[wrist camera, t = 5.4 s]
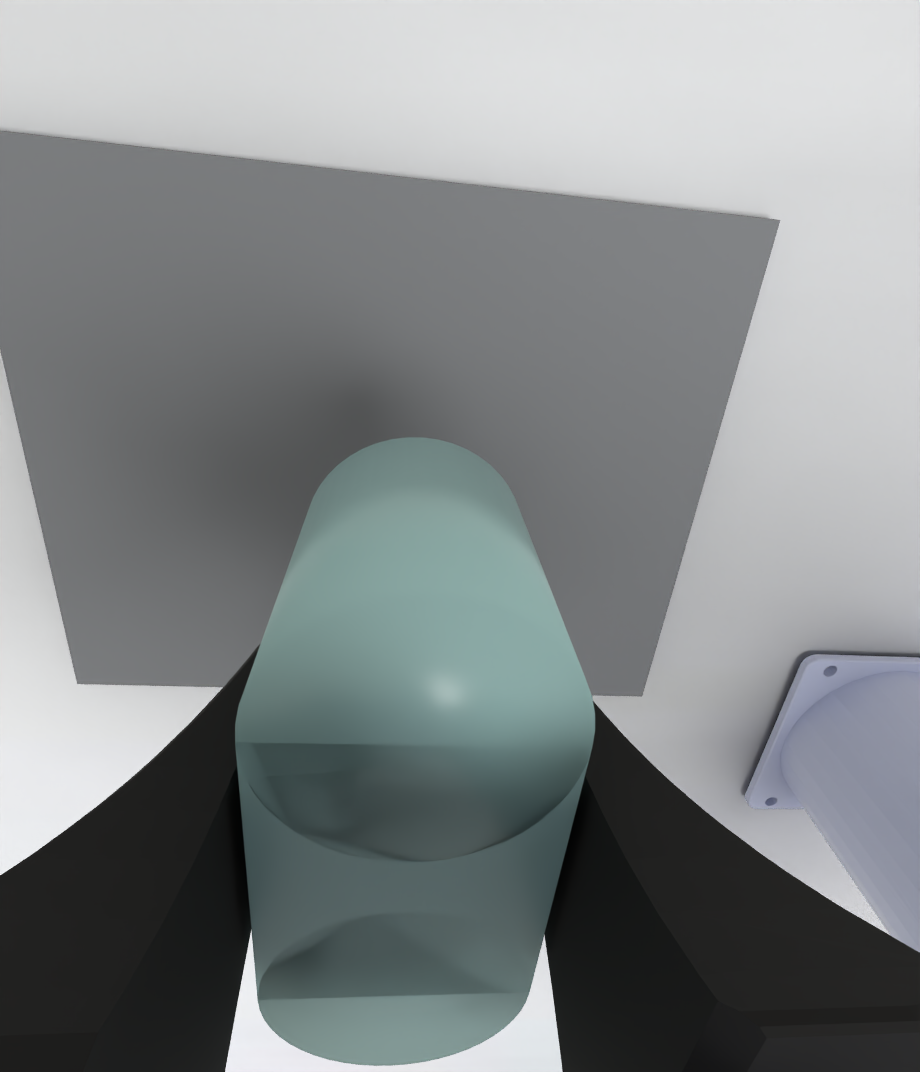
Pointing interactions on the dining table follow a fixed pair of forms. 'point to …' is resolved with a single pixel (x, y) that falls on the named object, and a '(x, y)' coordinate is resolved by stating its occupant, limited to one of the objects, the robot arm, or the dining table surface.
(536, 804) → the teal plug
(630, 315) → the charcoal mat
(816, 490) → the dining table surface
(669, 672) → the dining table surface
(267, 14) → the dining table surface
